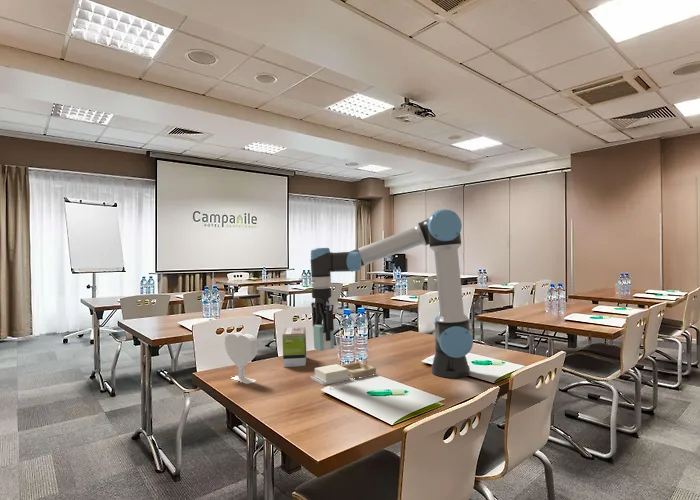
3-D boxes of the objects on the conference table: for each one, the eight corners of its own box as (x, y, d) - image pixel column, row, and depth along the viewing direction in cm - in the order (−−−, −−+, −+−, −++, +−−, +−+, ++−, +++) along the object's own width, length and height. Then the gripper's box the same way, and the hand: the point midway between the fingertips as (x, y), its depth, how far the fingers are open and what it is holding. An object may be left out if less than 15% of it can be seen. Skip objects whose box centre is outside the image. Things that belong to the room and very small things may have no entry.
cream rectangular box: (350, 379, 156) (349, 369, 156) (322, 385, 150) (322, 374, 150) (337, 373, 165) (337, 363, 165) (310, 378, 159) (310, 368, 159)
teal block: (334, 348, 155) (333, 324, 155) (320, 350, 152) (319, 327, 152) (327, 346, 159) (326, 323, 160) (314, 348, 156) (313, 325, 156)
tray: (375, 374, 162) (375, 368, 162) (353, 379, 156) (353, 372, 156) (360, 368, 172) (360, 362, 172) (338, 372, 166) (338, 366, 166)
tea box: (285, 358, 190) (284, 327, 190) (306, 357, 191) (306, 326, 191) (282, 367, 175) (282, 333, 176) (305, 366, 176) (305, 332, 176)
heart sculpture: (260, 381, 157) (259, 334, 157) (250, 384, 153) (249, 337, 153) (233, 374, 166) (233, 331, 166) (223, 378, 161) (223, 333, 162)
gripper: (302, 287, 161) (304, 345, 161) (324, 289, 146) (326, 353, 146) (318, 285, 166) (320, 342, 165) (341, 288, 150) (344, 350, 150)
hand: (323, 347), depth 156 cm, fingers closed on teal block, 5 cm apart
